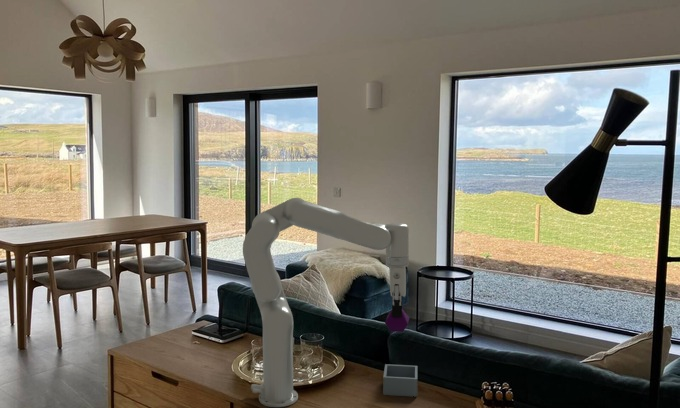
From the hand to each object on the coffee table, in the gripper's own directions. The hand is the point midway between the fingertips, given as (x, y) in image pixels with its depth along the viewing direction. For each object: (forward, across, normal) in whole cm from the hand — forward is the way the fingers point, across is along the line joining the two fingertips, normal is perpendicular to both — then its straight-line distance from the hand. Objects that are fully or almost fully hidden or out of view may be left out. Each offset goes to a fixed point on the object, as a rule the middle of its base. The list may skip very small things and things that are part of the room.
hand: (397, 313), depth 187 cm
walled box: (+26, 0, -1) cm, 26 cm away
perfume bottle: (+6, 0, 0) cm, 6 cm away
